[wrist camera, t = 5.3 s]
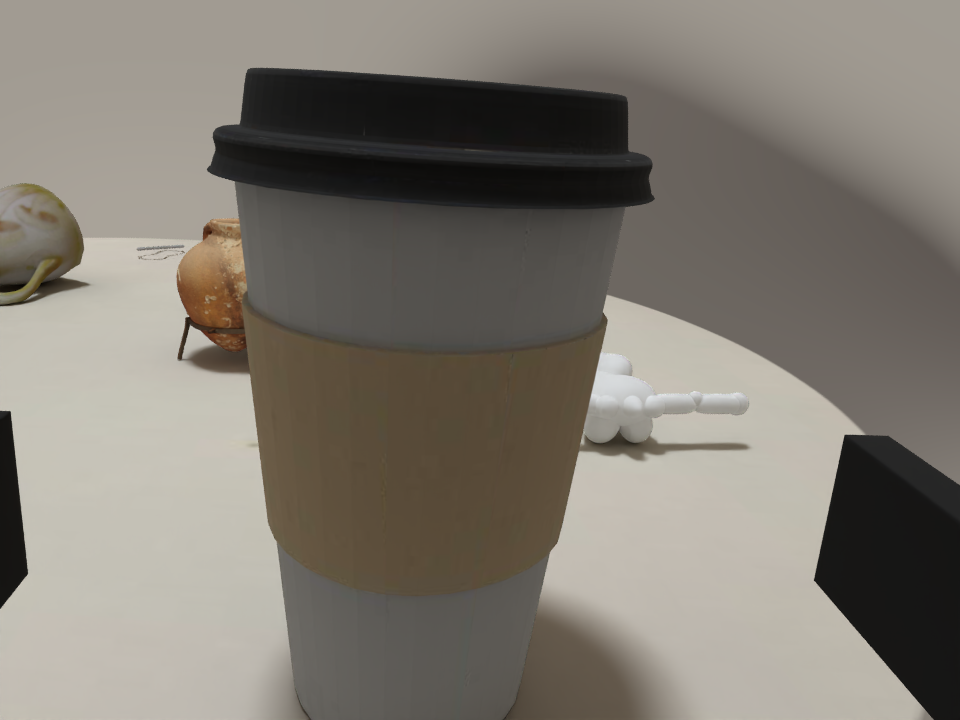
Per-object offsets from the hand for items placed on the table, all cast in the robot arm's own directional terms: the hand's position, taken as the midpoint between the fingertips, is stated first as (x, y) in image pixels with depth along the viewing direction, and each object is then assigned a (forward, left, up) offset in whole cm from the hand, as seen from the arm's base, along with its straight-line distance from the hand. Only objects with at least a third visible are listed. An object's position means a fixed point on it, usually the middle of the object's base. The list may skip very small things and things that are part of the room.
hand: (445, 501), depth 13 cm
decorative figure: (+29, +12, -9) cm, 33 cm away
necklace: (+35, +57, -9) cm, 68 cm away
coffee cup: (+5, +4, -9) cm, 11 cm away
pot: (+20, +29, -9) cm, 36 cm away
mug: (+19, +52, -9) cm, 56 cm away
